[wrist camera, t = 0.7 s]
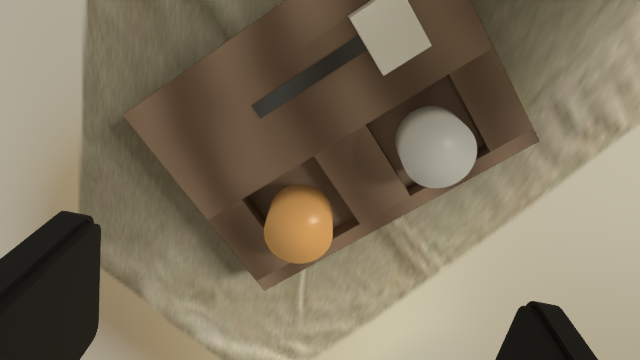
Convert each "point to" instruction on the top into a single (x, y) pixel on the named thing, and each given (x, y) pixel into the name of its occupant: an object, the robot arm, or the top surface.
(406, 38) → the slider knob
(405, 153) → the grey button
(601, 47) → the top surface
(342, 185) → the control panel
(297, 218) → the orange button
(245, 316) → the top surface
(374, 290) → the top surface
